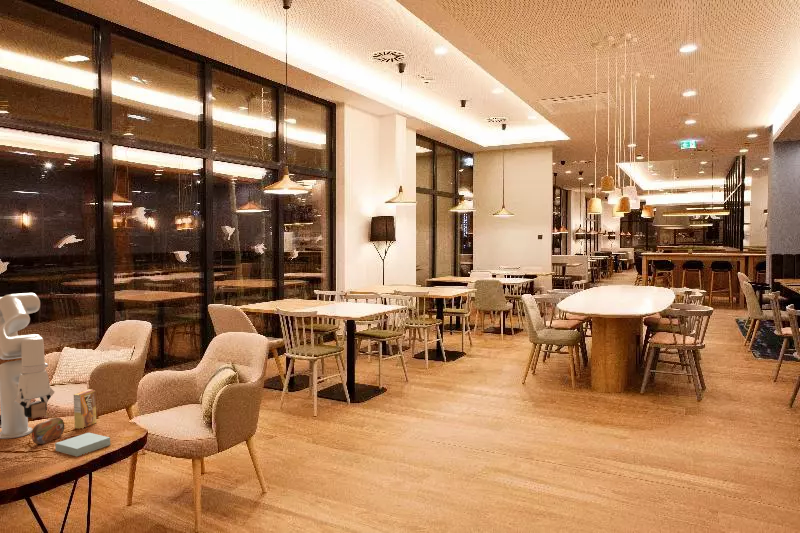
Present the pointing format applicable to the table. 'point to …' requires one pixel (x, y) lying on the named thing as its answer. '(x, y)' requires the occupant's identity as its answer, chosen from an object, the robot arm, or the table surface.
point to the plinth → (82, 444)
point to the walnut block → (38, 409)
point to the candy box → (85, 408)
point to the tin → (47, 430)
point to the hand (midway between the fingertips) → (35, 414)
